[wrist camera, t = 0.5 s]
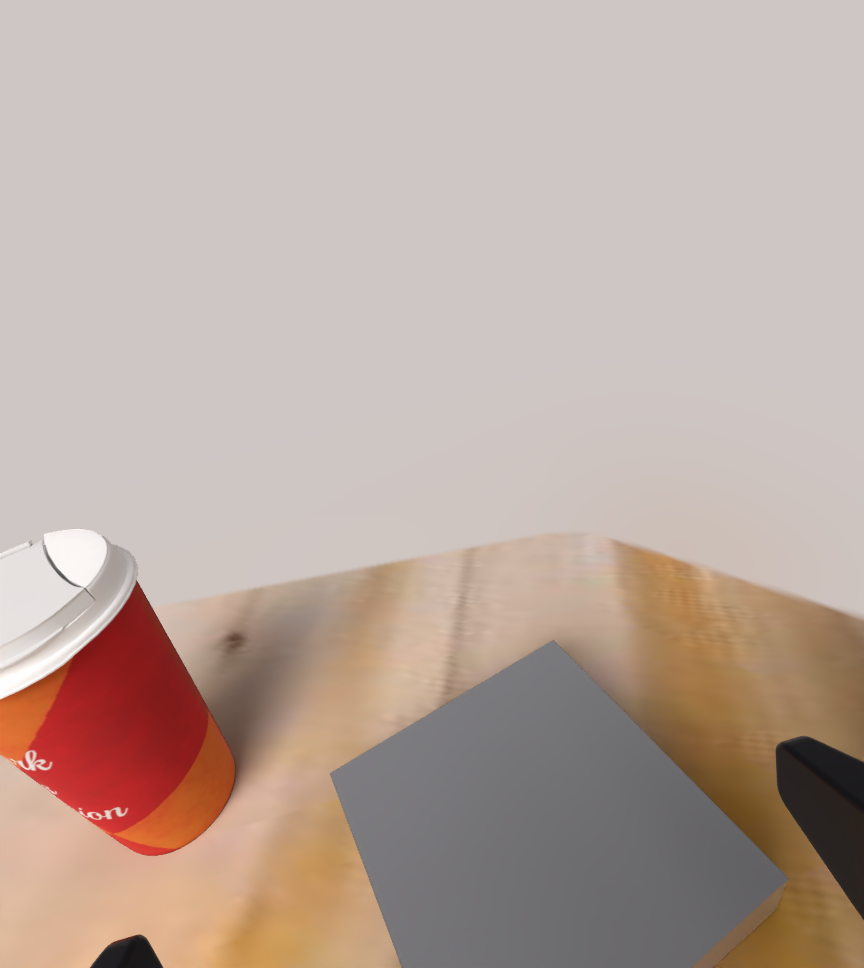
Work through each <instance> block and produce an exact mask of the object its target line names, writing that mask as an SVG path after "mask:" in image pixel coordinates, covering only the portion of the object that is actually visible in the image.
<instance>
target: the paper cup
mask: <svg viewBox="0 0 864 968" xmlns="http://www.w3.org/2000/svg"><path fill="white" fill-rule="evenodd" d="M44 542H45V545H43V543H44ZM137 575H138V567H137V563H136V561H135V559H134V557H133V556H132V555H131V553H130V552H128V551H127V550H125V549H123V548H121V547H119V546H117V545H113V544H111V543H110V542H109V541H108V540H107V539H106V538H105V537H104V536H102V535H100V534H98V533H96V532H93V531H90V530H82V529H72V530H71V529H70V530H62V531H55V532H51V533H47V534H44V540H41V541H39V542H37V543H34V544H32V542H31V541H28V542H26V543H23V544H21V545H19V546H16V547H14V548H11V549H9V550H6V551H4V552H2V553H0V755H1V756H3V757H4V758H5V759H7V760H8V761H9V762H11V763H12V764H13V765H15V766H16V767H17V768H19V769H20V770H21V771H23V772H24V773H25V774H27V775H28V776H29V777H31V778H32V779H34V780H35V781H36V782H38V783H39V784H40V785H42V786H43V787H44V788H46V789H47V790H48V791H50V792H51V793H52V794H54V795H55V796H56V797H58V798H59V799H60V800H62V801H63V802H64V803H66V804H67V805H69V806H70V807H71V808H73V809H74V810H75V811H77V812H78V813H79V814H81V815H82V816H83V817H85V818H86V819H88V820H89V821H90V822H92V823H93V824H94V825H96V826H97V827H99V828H100V829H101V830H103V831H104V832H105V833H107V834H108V835H110V836H111V837H113V838H114V839H115V840H117V841H118V842H120V843H121V844H123V845H124V846H126V847H128V848H129V849H131V850H133V851H135V852H137V853H139V854H143V855H147V856H157V855H163V854H167V853H170V852H173V851H176V850H178V849H180V848H182V847H184V846H186V845H187V844H189V843H190V842H192V841H193V840H195V839H196V838H197V837H198V836H200V835H201V834H202V833H203V832H204V831H205V830H206V829H207V828H208V827H209V826H210V825H211V824H212V823H213V822H214V821H215V819H216V818H217V817H218V815H219V814H220V813H221V811H222V810H223V808H224V806H225V804H226V803H227V801H228V799H229V796H230V794H231V791H232V788H233V785H234V780H235V763H234V759H233V756H232V753H231V751H230V749H229V747H228V745H227V743H226V741H225V739H224V737H223V735H222V733H221V731H220V729H219V727H218V725H217V723H216V722H215V720H214V718H213V716H212V714H211V712H210V711H209V709H208V707H207V705H206V703H205V702H204V700H203V698H202V696H201V694H200V692H199V691H198V689H197V687H196V685H195V683H194V682H193V680H192V678H191V676H190V674H189V673H188V671H187V669H186V667H185V665H184V664H183V662H182V660H181V658H180V657H179V655H178V653H177V651H176V649H175V648H174V646H173V644H172V642H171V641H170V639H169V637H168V635H167V633H166V632H165V630H164V628H163V626H162V624H161V623H160V621H159V619H158V617H157V616H156V614H155V612H154V610H153V608H152V607H151V605H150V603H149V601H148V600H147V598H146V596H145V594H144V592H143V591H142V589H141V587H140V585H139V583H138V582H137V580H136V579H137Z"/></svg>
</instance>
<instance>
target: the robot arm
mask: <svg viewBox="0 0 864 968" xmlns="http://www.w3.org/2000/svg"><path fill="white" fill-rule="evenodd" d="M776 768H777V786H778V790H779V794H780V796H781V798H782V800H783V802H784V804H785V806H786V807H787V809H788V810H789V812H790V813H791V814H792V816H793V817H794V819H795V820H796V822H797V823H798V825H799V826H800V828H801V829H802V831H803V832H804V834H805V835H806V836H807V838H808V839H809V841H810V842H811V844H812V845H813V847H814V848H815V850H816V851H817V853H818V854H819V856H820V857H821V859H822V860H823V861H824V863H825V864H826V866H827V867H828V869H829V870H830V872H831V873H832V875H833V876H834V878H835V879H836V881H837V882H838V883H839V885H840V886H841V888H842V889H843V891H844V892H845V894H846V895H847V897H848V898H849V900H850V901H851V903H852V904H853V905H854V907H855V908H856V910H857V911H858V912H859V914H860V915H861V917H862V918H863V919H864V762H863V761H860V760H858V759H856V758H854V757H852V756H850V755H847V754H845V753H843V752H841V751H839V750H837V749H835V748H832V747H830V746H828V745H826V744H824V743H822V742H819V741H817V740H815V739H813V738H810V737H806V736H800V737H796V738H793V739H789V740H786V741H783V742H780V743H779V744H778V745H777V747H776ZM90 968H163V966H162V964H161V963H160V961H159V959H158V957H157V956H156V954H155V952H154V950H153V948H152V947H151V945H150V943H149V941H148V940H147V938H146V937H144V936H142V935H135V936H132V937H128V938H125V939H122V940H118V941H115V942H113V943H111V944H110V945H109V946H107V947H106V948H105V949H104V950H103V952H102V953H101V954H100V955H99V957H98V958H97V959H96V961H95V962H94V963H93V964H92V966H91V967H90Z"/></svg>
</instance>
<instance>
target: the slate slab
mask: <svg viewBox="0 0 864 968" xmlns="http://www.w3.org/2000/svg"><path fill="white" fill-rule="evenodd" d="M330 775H331V778H332V781H333V783H334V786H335V789H336V791H337V794H338V797H339V799H340V802H341V805H342V808H343V810H344V813H345V816H346V818H347V821H348V824H349V826H350V829H351V832H352V834H353V837H354V840H355V843H356V845H357V848H358V851H359V853H360V856H361V859H362V861H363V864H364V867H365V869H366V872H367V875H368V877H369V880H370V883H371V886H372V888H373V891H374V894H375V896H376V899H377V902H378V904H379V907H380V910H381V912H382V915H383V918H384V921H385V923H386V926H387V929H388V931H389V934H390V937H391V939H392V942H393V945H394V947H395V950H396V953H397V955H398V958H399V961H400V964H401V966H402V968H713V967H714V966H715V965H716V964H718V963H719V962H720V961H721V960H722V959H723V958H724V957H725V956H726V955H727V954H728V953H729V952H731V951H732V950H733V949H734V948H735V947H736V946H737V945H738V944H739V943H740V942H741V941H743V940H744V939H745V938H746V937H747V936H748V935H749V934H750V933H751V932H752V931H753V930H754V929H756V928H757V927H758V926H759V925H760V924H761V923H762V922H763V921H764V920H765V919H766V918H767V917H769V916H770V915H771V914H772V913H773V912H774V911H775V910H776V909H777V907H778V904H779V902H780V899H781V897H782V894H783V892H784V890H785V887H786V885H787V882H788V880H789V878H788V877H787V876H786V875H785V874H784V873H783V872H782V871H781V870H780V869H779V868H778V867H777V866H776V865H775V864H774V863H773V862H772V861H771V860H770V859H769V858H768V857H767V856H766V855H765V854H764V853H763V852H762V851H761V850H760V849H759V848H758V847H757V846H756V845H755V844H754V843H753V842H752V841H751V840H750V839H749V838H748V837H747V836H746V835H745V834H744V833H743V832H742V831H741V830H740V829H739V828H738V827H737V826H736V825H735V824H734V822H733V821H732V820H731V819H730V818H729V817H728V816H727V815H726V814H725V813H724V812H723V811H722V810H721V809H720V808H719V807H718V806H717V805H716V804H715V803H714V802H713V801H712V800H711V799H710V798H709V797H708V796H707V795H706V794H705V793H704V792H703V791H702V790H701V789H700V788H699V787H698V786H697V785H696V784H695V783H694V782H693V781H692V780H691V779H690V778H689V777H688V776H687V775H686V774H685V773H684V772H683V771H682V770H681V769H680V768H679V767H678V766H677V765H676V764H675V763H674V762H673V761H672V760H671V759H670V758H669V757H668V756H667V755H666V754H665V753H664V752H663V751H662V749H661V748H660V747H659V746H658V745H657V744H656V743H655V742H654V741H653V740H652V739H651V738H650V737H649V736H648V735H647V734H646V733H645V732H644V731H643V730H642V729H641V728H640V727H639V726H638V725H637V724H636V723H635V722H634V721H633V720H632V719H631V718H630V717H629V716H628V715H627V714H626V713H625V712H624V711H623V710H622V709H621V708H620V707H619V706H618V705H617V704H616V703H615V702H614V701H613V700H612V699H611V698H610V697H609V696H608V695H607V694H606V693H605V692H604V691H603V690H602V689H601V688H600V687H599V686H598V685H597V684H596V683H595V682H594V681H593V680H592V679H591V678H590V676H589V675H588V674H587V673H586V672H585V671H584V670H583V669H582V668H581V667H580V666H579V665H578V664H577V663H576V662H575V661H574V660H573V659H572V658H571V657H570V656H569V655H568V654H567V653H566V652H565V651H564V650H563V649H562V648H561V647H560V646H559V645H558V644H557V643H556V642H555V641H554V640H553V641H551V642H550V643H548V644H546V645H545V646H543V647H541V648H539V649H538V650H536V651H534V652H533V653H531V654H529V655H528V656H526V657H524V658H523V659H521V660H519V661H518V662H516V663H514V664H513V665H511V666H509V667H508V668H506V669H504V670H503V671H501V672H499V673H498V674H496V675H494V676H492V677H491V678H489V679H487V680H486V681H484V682H482V683H481V684H479V685H477V686H476V687H474V688H472V689H471V690H469V691H467V692H466V693H464V694H462V695H461V696H459V697H457V698H456V699H454V700H452V701H451V702H449V703H447V704H445V705H444V706H442V707H440V708H439V709H437V710H435V711H434V712H432V713H430V714H429V715H427V716H425V717H424V718H422V719H420V720H419V721H417V722H415V723H414V724H412V725H410V726H409V727H407V728H405V729H403V730H402V731H400V732H398V733H397V734H395V735H393V736H392V737H390V738H388V739H387V740H385V741H383V742H382V743H380V744H378V745H377V746H375V747H373V748H372V749H370V750H368V751H367V752H365V753H363V754H362V755H360V756H358V757H356V758H355V759H353V760H351V761H350V762H348V763H346V764H345V765H343V766H341V767H340V768H338V769H336V770H335V771H333V772H331V773H330Z"/></svg>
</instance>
